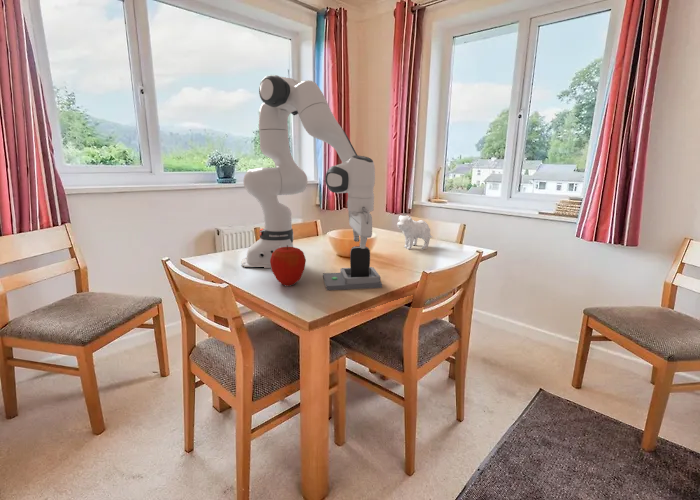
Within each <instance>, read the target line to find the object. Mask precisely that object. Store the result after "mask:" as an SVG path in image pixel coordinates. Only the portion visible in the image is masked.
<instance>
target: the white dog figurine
mask: <svg viewBox="0 0 700 500" xmlns="http://www.w3.org/2000/svg"><path fill="white" fill-rule="evenodd" d="M394 225H395V226H397V228H398V229H399V230H400V231H402V234H403V235H404V238H405V239H404V243H405V244H404V245H403V248H404V247H405V248H404V249H406V250H407V249H408V250H407V251H410V250H412V248H413V245H415V246H417V242H418V239H421V240H423V241H424V242H423V245H421V249H422V248H423V249H422V250H426V249H428V248H429V244H430V241H431V240H430V239H431V238H433V235H431V228H430V226H429V223H427V222H426V221H425V220H422V219H419V220H414V219H413V218H412V216H408V215H402V214H400V215H399V216H398V220H397V223H396V224H394ZM425 248H426V249H425ZM409 249H410V250H409Z"/></svg>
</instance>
